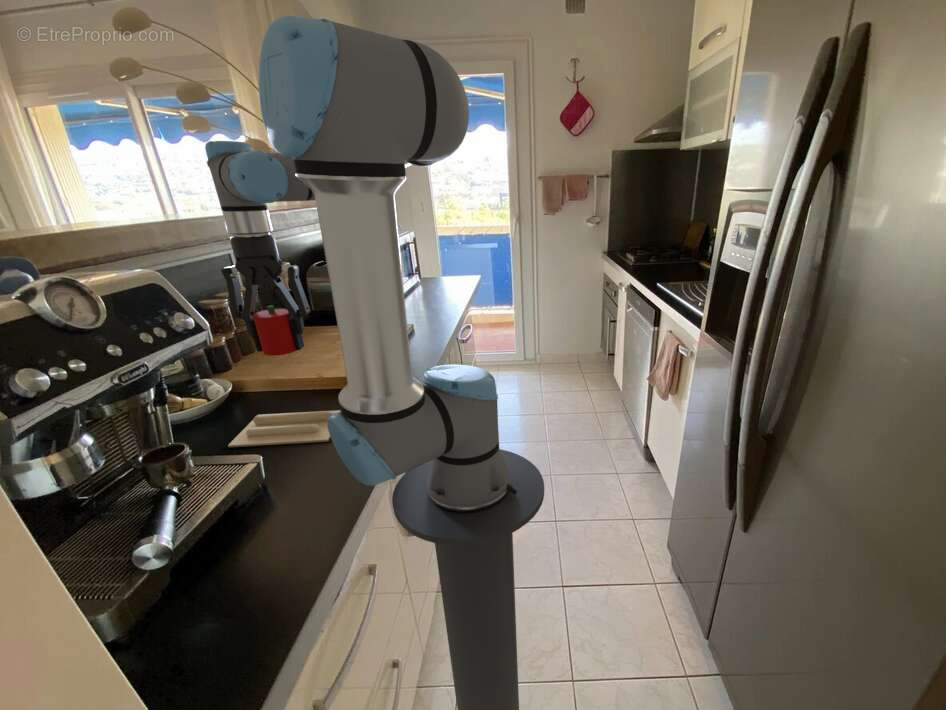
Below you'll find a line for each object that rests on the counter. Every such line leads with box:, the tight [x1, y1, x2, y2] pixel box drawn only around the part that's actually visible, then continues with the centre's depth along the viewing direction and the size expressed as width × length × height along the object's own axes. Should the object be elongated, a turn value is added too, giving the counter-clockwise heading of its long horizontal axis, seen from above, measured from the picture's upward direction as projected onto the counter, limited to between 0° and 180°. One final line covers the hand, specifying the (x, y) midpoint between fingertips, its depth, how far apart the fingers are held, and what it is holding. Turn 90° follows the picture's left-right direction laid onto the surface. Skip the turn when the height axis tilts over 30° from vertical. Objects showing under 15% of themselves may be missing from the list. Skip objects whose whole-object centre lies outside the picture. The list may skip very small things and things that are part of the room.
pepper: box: [253, 305, 298, 356], centre depth 93 cm, size 7×7×9 cm
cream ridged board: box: [227, 409, 341, 448], centre depth 99 cm, size 20×14×2 cm
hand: (281, 348), depth 95 cm, fingers closed on pepper, 7 cm apart
